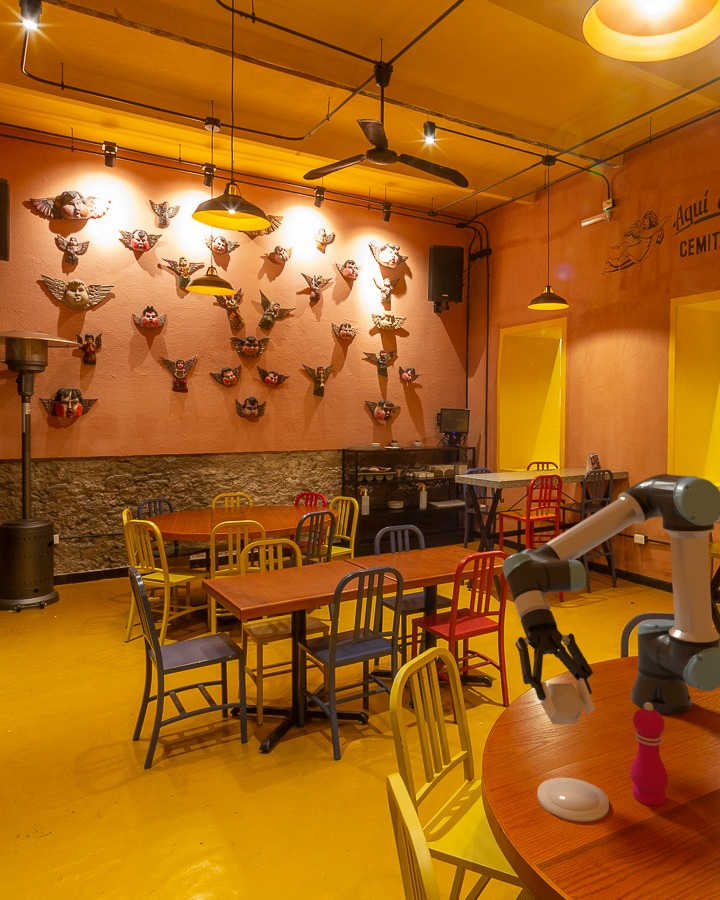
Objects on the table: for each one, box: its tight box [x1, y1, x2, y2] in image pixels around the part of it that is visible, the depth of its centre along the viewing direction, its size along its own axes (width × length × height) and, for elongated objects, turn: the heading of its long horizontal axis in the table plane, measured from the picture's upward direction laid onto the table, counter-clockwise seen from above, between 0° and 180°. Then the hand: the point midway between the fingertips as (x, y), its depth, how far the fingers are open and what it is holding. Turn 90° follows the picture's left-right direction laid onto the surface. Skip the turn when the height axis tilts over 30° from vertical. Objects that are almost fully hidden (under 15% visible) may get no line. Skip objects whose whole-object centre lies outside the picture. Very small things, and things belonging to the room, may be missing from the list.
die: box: [540, 682, 585, 725], centre depth 135 cm, size 8×9×10 cm
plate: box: [537, 777, 610, 823], centre depth 129 cm, size 14×14×1 cm
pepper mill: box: [629, 702, 669, 807], centre depth 130 cm, size 7×7×20 cm
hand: (571, 712), depth 131 cm, fingers closed on die, 8 cm apart
